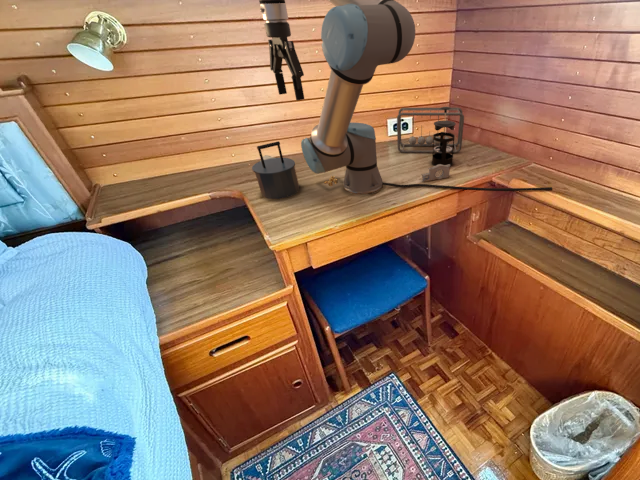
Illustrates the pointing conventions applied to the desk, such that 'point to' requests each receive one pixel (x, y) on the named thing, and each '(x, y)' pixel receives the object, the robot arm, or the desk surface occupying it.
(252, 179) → the desk surface
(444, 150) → the french press
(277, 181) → the pot
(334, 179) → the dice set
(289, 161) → the lid
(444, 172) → the garden wall model
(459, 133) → the newton's cradle
